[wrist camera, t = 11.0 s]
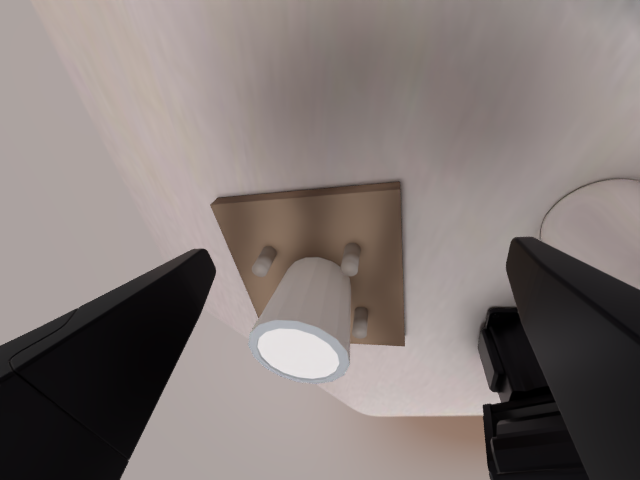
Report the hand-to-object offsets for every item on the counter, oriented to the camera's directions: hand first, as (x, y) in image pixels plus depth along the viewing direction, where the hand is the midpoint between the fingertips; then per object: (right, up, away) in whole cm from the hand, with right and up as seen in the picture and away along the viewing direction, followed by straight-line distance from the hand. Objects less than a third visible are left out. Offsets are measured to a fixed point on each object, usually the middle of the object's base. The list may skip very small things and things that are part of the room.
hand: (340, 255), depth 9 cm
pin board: (-1, -3, +17) cm, 17 cm away
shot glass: (-1, -3, +16) cm, 16 cm away
